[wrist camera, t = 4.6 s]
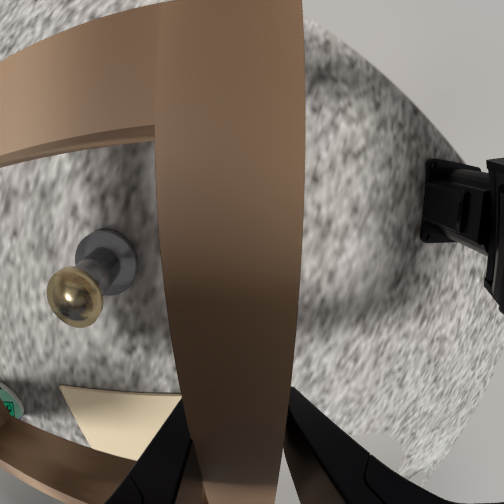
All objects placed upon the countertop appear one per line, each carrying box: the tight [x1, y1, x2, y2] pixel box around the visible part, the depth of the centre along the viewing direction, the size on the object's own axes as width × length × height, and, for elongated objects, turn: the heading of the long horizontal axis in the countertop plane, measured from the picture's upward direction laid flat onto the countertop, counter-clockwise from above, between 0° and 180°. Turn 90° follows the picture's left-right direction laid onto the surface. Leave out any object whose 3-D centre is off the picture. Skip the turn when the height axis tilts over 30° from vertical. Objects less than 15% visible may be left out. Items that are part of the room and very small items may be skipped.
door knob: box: [47, 229, 138, 328], centre depth 16 cm, size 4×4×6 cm
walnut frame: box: [0, 0, 305, 504], centre depth 8 cm, size 18×18×4 cm
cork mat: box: [60, 385, 182, 461], centre depth 26 cm, size 20×20×1 cm
